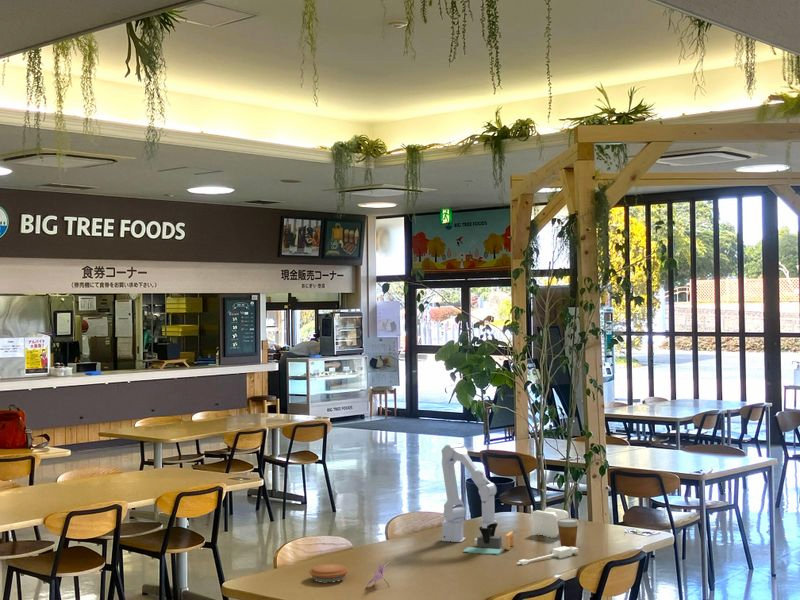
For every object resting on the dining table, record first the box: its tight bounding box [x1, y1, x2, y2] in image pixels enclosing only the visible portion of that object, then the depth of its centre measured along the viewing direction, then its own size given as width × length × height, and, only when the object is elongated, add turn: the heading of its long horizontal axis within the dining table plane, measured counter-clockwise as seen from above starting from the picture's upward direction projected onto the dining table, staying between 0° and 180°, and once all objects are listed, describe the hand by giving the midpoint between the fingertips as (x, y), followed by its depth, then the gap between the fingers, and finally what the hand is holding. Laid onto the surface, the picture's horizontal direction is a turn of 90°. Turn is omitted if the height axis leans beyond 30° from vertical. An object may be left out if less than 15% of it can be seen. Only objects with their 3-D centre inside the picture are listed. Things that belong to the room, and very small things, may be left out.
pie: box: [308, 563, 349, 582], centre depth 375 cm, size 15×16×5 cm
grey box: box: [473, 534, 503, 549], centre depth 426 cm, size 12×5×5 cm, turn 72°
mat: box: [462, 546, 504, 556], centre depth 416 cm, size 16×8×1 cm, turn 70°
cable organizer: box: [531, 507, 570, 539], centre depth 447 cm, size 15×11×12 cm
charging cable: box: [516, 546, 579, 566], centre depth 401 cm, size 5×32×3 cm, turn 124°
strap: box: [505, 531, 515, 550], centre depth 423 cm, size 2×9×6 cm, turn 160°
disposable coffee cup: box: [557, 517, 580, 548], centre depth 422 cm, size 10×10×12 cm
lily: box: [366, 561, 390, 587], centre depth 363 cm, size 12×12×10 cm
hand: (488, 541), depth 426 cm, fingers open, 7 cm apart
